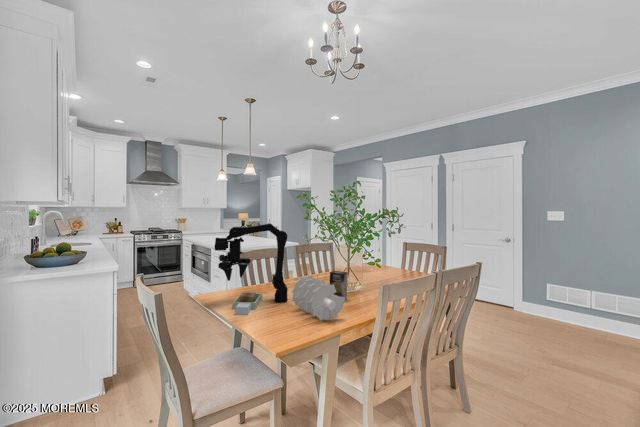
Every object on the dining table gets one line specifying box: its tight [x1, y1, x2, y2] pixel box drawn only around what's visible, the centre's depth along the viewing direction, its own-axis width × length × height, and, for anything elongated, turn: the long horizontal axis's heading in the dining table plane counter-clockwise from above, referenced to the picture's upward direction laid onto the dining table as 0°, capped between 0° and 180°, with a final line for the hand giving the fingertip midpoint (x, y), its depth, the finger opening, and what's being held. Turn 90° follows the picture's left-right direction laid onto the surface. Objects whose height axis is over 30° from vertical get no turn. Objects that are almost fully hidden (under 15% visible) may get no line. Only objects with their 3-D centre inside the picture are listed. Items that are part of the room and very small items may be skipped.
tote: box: [232, 292, 263, 311], centre depth 162 cm, size 12×17×4 cm
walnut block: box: [238, 292, 257, 302], centre depth 159 cm, size 7×7×6 cm
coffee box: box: [329, 270, 348, 301], centre depth 174 cm, size 9×6×16 cm
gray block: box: [235, 303, 252, 316], centre depth 149 cm, size 6×6×4 cm
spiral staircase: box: [291, 274, 346, 322], centre depth 149 cm, size 18×18×25 cm
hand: (235, 278), depth 163 cm, fingers open, 9 cm apart
